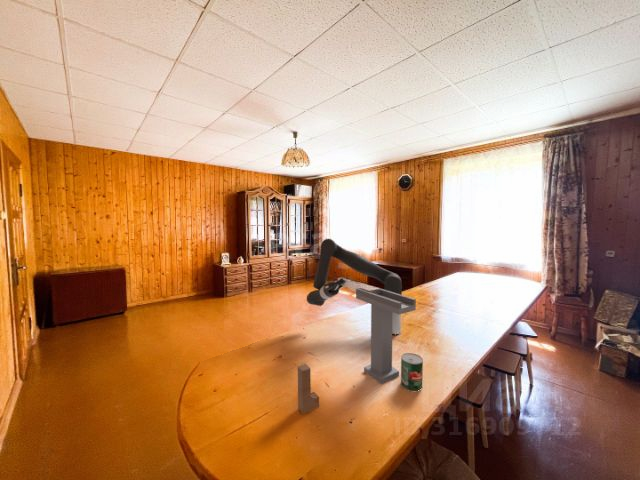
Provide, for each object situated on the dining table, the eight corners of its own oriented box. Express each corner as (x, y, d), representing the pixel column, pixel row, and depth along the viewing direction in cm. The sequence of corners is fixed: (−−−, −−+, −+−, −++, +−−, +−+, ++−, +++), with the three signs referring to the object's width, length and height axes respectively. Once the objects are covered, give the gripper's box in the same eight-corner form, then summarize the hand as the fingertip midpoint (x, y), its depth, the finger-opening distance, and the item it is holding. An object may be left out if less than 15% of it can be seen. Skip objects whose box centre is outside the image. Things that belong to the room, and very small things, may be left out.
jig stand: (355, 365, 116) (355, 288, 113) (372, 358, 121) (372, 285, 119) (396, 395, 95) (398, 303, 93) (415, 386, 100) (416, 298, 98)
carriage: (335, 284, 130) (335, 278, 130) (344, 282, 133) (344, 277, 133) (369, 296, 109) (369, 289, 108) (380, 294, 112) (380, 287, 112)
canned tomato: (405, 376, 107) (405, 350, 106) (425, 384, 102) (425, 357, 101) (397, 386, 100) (397, 358, 100) (418, 395, 95) (418, 365, 95)
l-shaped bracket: (302, 414, 86) (302, 370, 85) (297, 408, 89) (297, 366, 88) (319, 406, 90) (318, 364, 89) (314, 401, 93) (313, 360, 91)
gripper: (316, 285, 138) (331, 274, 125) (337, 282, 145) (355, 270, 132) (319, 299, 135) (336, 289, 122) (341, 295, 143) (359, 285, 129)
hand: (346, 279), depth 127 cm, fingers open, 3 cm apart
